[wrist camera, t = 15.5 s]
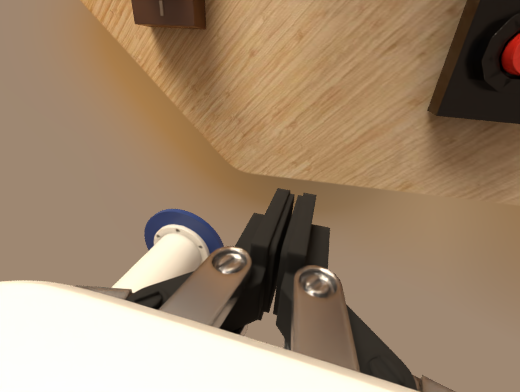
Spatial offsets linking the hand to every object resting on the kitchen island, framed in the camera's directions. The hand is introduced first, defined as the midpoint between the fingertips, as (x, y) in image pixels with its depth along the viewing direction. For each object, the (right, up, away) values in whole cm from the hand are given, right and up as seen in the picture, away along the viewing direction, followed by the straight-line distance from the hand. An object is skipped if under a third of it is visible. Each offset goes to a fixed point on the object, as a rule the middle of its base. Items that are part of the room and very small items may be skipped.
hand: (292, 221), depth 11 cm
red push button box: (+23, +15, +14) cm, 31 cm away
